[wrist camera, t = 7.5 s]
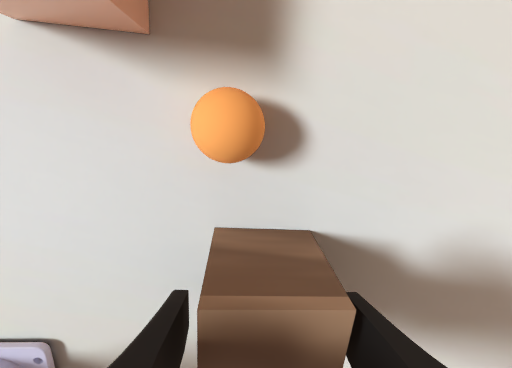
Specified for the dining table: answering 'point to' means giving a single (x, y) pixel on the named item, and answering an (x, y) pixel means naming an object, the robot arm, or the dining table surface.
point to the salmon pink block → (83, 13)
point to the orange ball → (227, 125)
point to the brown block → (271, 303)
